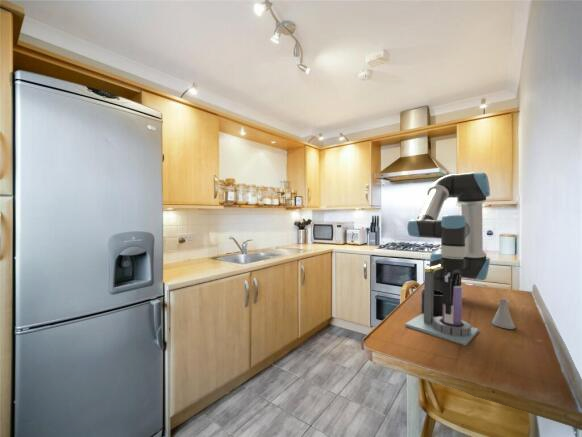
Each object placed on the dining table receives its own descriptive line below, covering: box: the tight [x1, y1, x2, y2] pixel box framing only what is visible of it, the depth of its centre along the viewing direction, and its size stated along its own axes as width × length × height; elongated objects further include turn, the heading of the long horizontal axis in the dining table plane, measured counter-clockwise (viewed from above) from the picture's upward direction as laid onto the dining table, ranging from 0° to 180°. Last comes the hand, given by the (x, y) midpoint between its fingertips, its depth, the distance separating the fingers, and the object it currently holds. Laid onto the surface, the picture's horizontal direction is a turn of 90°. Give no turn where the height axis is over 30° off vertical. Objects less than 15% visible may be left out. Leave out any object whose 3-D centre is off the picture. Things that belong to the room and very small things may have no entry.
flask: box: [491, 298, 516, 330], centre depth 103 cm, size 7×7×10 cm
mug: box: [420, 289, 443, 317], centre depth 115 cm, size 9×12×9 cm
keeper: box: [423, 264, 443, 273], centre depth 106 cm, size 4×16×1 cm, turn 132°
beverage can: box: [442, 284, 463, 327], centre depth 96 cm, size 6×6×15 cm
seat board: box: [404, 272, 479, 346], centre depth 99 cm, size 16×20×20 cm
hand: (451, 320), depth 96 cm, fingers closed on beverage can, 6 cm apart
